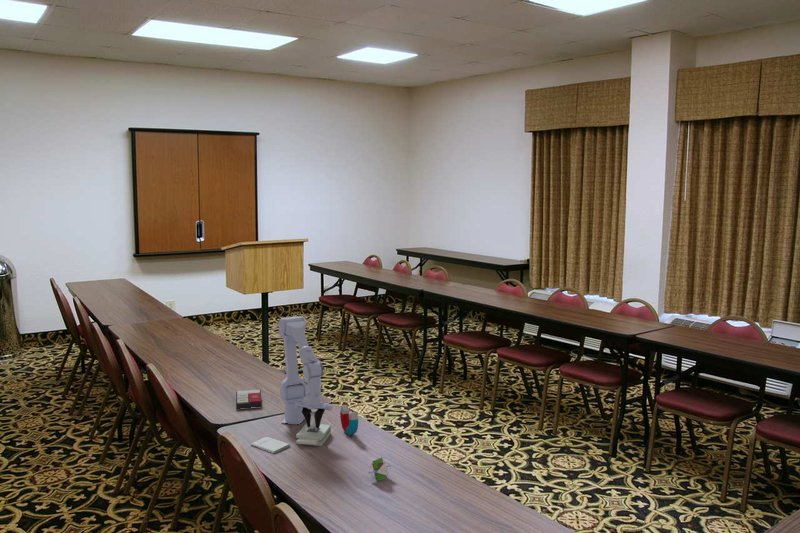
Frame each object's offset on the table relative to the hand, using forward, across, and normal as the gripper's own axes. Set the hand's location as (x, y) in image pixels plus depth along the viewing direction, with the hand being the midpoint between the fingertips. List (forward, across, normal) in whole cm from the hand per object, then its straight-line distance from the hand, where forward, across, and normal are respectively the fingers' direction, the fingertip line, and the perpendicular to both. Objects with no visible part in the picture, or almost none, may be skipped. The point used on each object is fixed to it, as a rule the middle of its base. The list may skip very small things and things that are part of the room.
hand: (313, 426), depth 241 cm
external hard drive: (+6, -14, -10) cm, 18 cm away
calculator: (+6, -41, +32) cm, 53 cm away
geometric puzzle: (+5, +32, -27) cm, 42 cm away
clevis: (+5, 0, 0) cm, 5 cm away
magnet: (+5, +12, +8) cm, 15 cm away
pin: (+3, 0, 0) cm, 3 cm away
